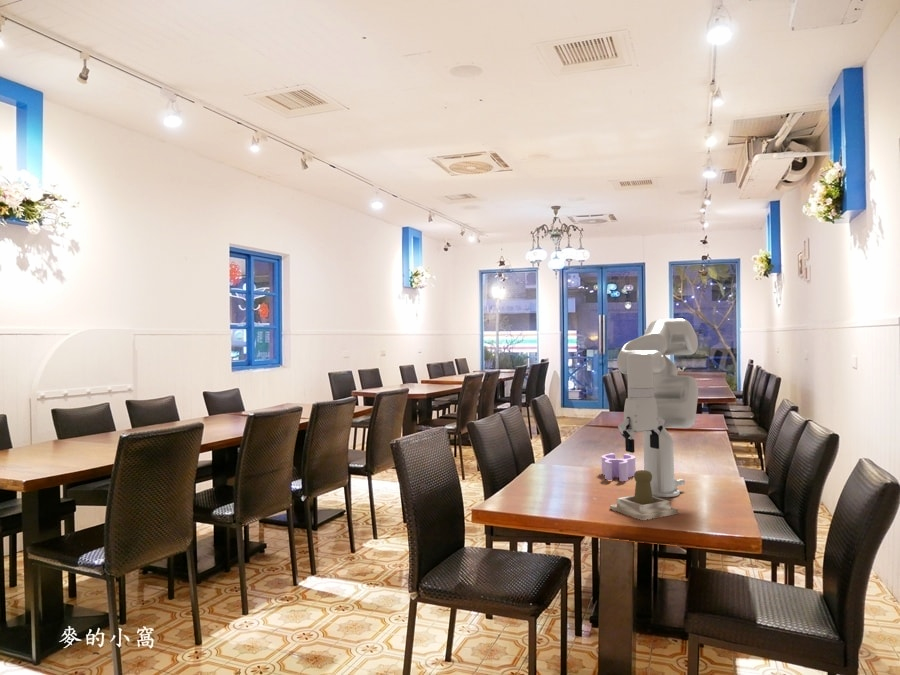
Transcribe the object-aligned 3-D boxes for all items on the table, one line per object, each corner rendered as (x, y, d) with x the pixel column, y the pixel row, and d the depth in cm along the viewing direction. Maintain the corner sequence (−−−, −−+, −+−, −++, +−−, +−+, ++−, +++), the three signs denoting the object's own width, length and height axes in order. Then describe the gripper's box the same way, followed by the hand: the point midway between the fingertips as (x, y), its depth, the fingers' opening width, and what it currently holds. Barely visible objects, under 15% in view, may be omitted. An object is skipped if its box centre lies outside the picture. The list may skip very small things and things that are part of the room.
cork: (632, 509, 190) (631, 472, 190) (634, 504, 196) (633, 468, 196) (653, 510, 188) (652, 473, 188) (654, 505, 194) (653, 469, 194)
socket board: (644, 503, 201) (644, 492, 201) (678, 513, 189) (678, 501, 189) (609, 509, 195) (609, 497, 195) (642, 520, 183) (642, 508, 183)
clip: (633, 483, 230) (633, 463, 230) (598, 481, 234) (597, 462, 234) (636, 471, 249) (636, 453, 249) (604, 470, 253) (603, 452, 253)
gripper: (653, 390, 199) (655, 444, 200) (609, 394, 192) (611, 451, 192) (671, 392, 192) (673, 448, 193) (627, 396, 185) (628, 455, 185)
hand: (642, 449), depth 192 cm, fingers open, 9 cm apart
